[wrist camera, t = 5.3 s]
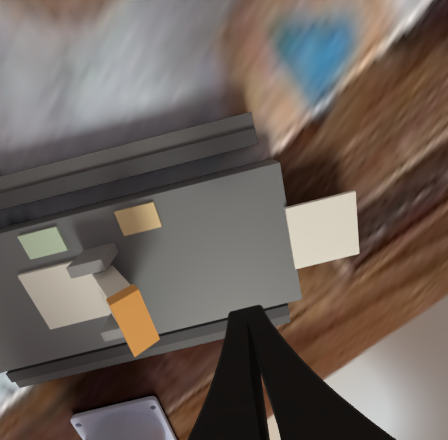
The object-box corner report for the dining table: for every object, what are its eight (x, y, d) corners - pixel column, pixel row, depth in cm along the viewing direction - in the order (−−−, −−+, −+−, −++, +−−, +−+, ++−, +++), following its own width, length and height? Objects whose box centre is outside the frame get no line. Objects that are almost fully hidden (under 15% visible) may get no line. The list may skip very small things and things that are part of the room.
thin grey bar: (285, 310, 21) (291, 324, 20) (30, 372, 22) (18, 390, 20) (281, 292, 21) (288, 305, 19) (20, 356, 21) (5, 374, 20)
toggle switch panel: (344, 270, 20) (378, 305, 16) (4, 354, 21) (-43, 407, 17) (333, 142, 17) (372, 147, 13) (-74, 246, 17) (-156, 281, 13)
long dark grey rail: (252, 142, 17) (257, 143, 15) (-72, 225, 17) (-99, 235, 15) (247, 113, 16) (251, 111, 14) (-90, 199, 16) (-120, 207, 15)
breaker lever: (129, 301, 18) (160, 340, 13) (108, 312, 17) (135, 358, 13) (109, 258, 16) (137, 287, 12) (87, 269, 16) (108, 304, 12)
